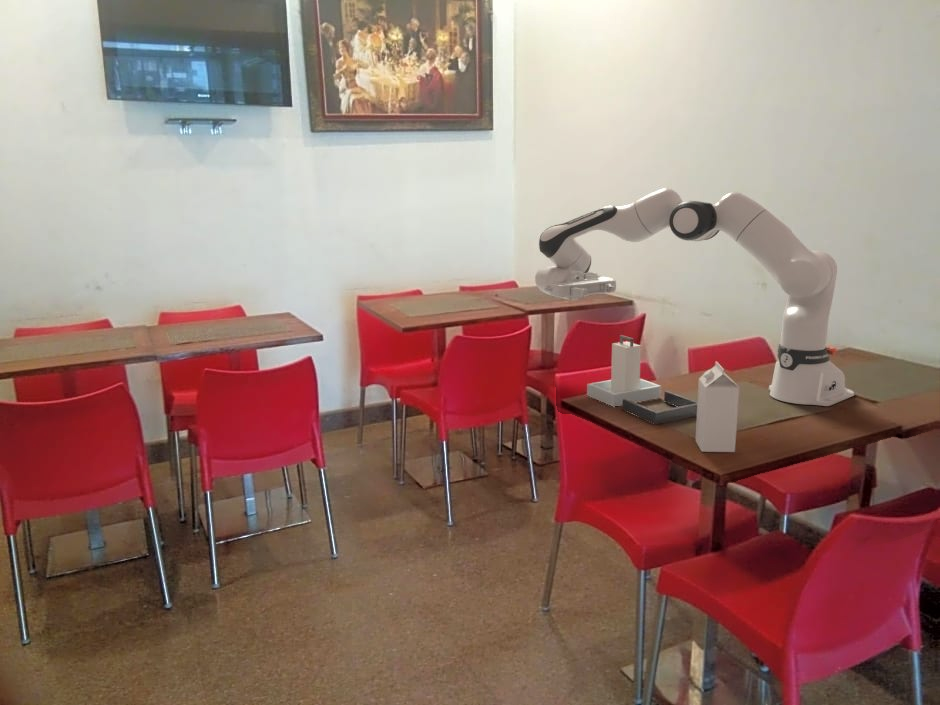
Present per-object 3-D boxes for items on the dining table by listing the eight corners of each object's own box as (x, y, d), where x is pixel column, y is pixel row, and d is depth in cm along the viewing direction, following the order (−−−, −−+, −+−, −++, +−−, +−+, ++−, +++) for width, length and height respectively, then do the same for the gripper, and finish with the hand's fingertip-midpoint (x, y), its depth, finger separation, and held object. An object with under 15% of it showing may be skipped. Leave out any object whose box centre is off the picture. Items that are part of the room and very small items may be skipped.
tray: (632, 387, 207) (633, 375, 206) (660, 398, 197) (661, 385, 196) (587, 395, 200) (587, 383, 200) (613, 407, 190) (613, 394, 189)
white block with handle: (625, 389, 202) (626, 333, 198) (639, 395, 196) (641, 337, 193) (610, 392, 200) (612, 336, 196) (624, 398, 194) (626, 340, 190)
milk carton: (727, 441, 164) (732, 361, 160) (735, 453, 157) (740, 369, 153) (695, 441, 165) (699, 361, 160) (701, 452, 158) (706, 369, 154)
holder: (667, 401, 194) (667, 390, 193) (702, 414, 183) (702, 403, 182) (622, 410, 188) (622, 399, 187) (655, 424, 176) (656, 413, 176)
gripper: (541, 277, 209) (568, 283, 197) (599, 272, 218) (628, 277, 206) (541, 298, 211) (568, 305, 199) (598, 292, 220) (627, 298, 208)
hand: (599, 291), depth 203 cm, fingers open, 8 cm apart
